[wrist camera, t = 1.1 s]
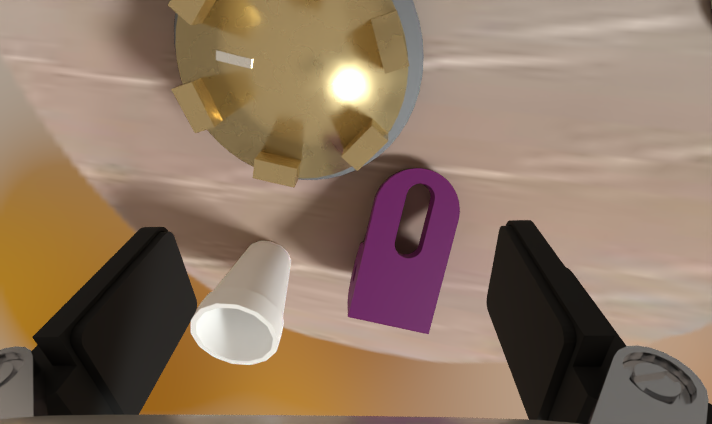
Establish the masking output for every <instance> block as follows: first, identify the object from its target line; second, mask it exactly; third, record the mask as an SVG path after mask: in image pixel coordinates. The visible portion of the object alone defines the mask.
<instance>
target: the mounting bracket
mask: <svg viewBox="0 0 712 424" xmlns="http://www.w3.org/2000/svg"><path fill="white" fill-rule="evenodd" d="M419 183H421V184H423V185H425V186H426V187H427V188H428V189H429V191H430V195H431V198H430V203H429V207H428V211H427V215H426V218H425V222H424V226H423V230H422V234H421V238H420V242H419V246H418V248H417V249H416V250H415V251H414V252H412V253H410V254H401V253H399V252H397V251H396V249H395V239H396V235H397V231H398V227H399V223H400V219H401V215H402V211H403V207H404V203H405V199H406V195H407V192H408V190H409V189H410V188H411V187H412V186H413V185H415V184H419ZM459 213H460V207H459V201H458V197H457V194H456V192H455V190H454V188H453V187H452V185H451V184H450V183H449V182H448V181H447V180H446V179H445V178H444V177H443V176H441V175H440V174H438V173H436V172H434V171H431V170H428V169H421V168H415V169H406V170H402V171H399V172H397V173H395V174H393V175H392V176H390V177H389V178H388V179H387V180H386V181H385V182H384V183H383V184H382V185H381V186H380V188H379V190H378V191H377V194H376V196H375V199H374V203H373V207H372V211H371V216H370V220H369V224H368V228H367V232H366V236H365V241H364V243H363V242H361V244H360V246H359V249H358V252H357V256H356V259H355V263H354V267H353V272H352V276H351V281H350V287H349V293H348V317H351V318H356V319H360V320H365V321H370V322H374V323H379V324H384V325H388V326H393V327H398V328H402V329H407V330H411V331H416V332H421V333H425V334H429V330H430V327H431V323H432V319H433V315H434V311H435V308H436V304H437V300H438V296H439V292H440V288H441V285H442V281H443V277H444V273H445V269H446V266H447V262H448V258H449V254H450V250H451V247H452V243H453V239H454V235H455V231H456V228H457V224H458V220H459Z"/></svg>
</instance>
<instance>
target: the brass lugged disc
mask: <svg viewBox="0 0 712 424" xmlns="http://www.w3.org/2000/svg"><path fill="white" fill-rule="evenodd" d="M168 6H169V7H170V8H171V9H172V10H174V11H175V12H176V13H177V14H178V18H177V24H176V41H175V46H176V57H177V64H178V69H179V73H180V78H181V81H182V85H179V86H177V87H175V88H173V89H171V90H172V92H173V94H174V95H175V97H176V99H177V101H178V103H179V105H180V106H181V108H182V110H183V112H184V114H185V116H186V117H187V119H188V121H189V123H190V125H191V127H192V129H193V130H194V132H195V133H197V132H201V131H204V130H208V131H209V132H210V134H211V135H212V136H213V137H214V138H215V139H216V140H217V141H218V142H219V143H220V144H221V145H222V146H223V147H225V148H226V149H227V150H228V151H229V152H230V153H232V154H233V155H235V156H236V157H238V158H239V159H240V160H242V161H244V162H246V163H247V164H249V165H251V166H253V167H254V171H253V178H255V179H259V180H264V181H268V182H272V183H277V184H281V185H285V186H290V187H295V185H296V183H297V181H298V179H299V178H303V179H306V178H318V177H323V176H329V175H332V174H335V173H338V172H341V171H344V170H346V169H348V168H350V167H353V168H354V169H356V170H357V171H358V170H359V169H360V168H361V167H362V166H363V165H364V164H365V163H366V162H367V161H368V160H370V159H371V158H372V157H373V156H374V155H375V154H376V153H377V152H378V151H379V150H380V149H381V148H382V147H383V146H384V145H385V144H386V143H387V142H388V133H389V131H390V130H391V129H392V127H393V125H394V123H395V121H396V119H397V117H398V115H399V112H400V109H401V107H402V104H403V101H404V96H405V92H406V87H407V78H408V67H409V61H408V52H407V46H406V39H405V34H404V31H403V27H402V24H401V21H400V18H399V15H398V13H397V10H396V8H395V6H394V4H393V2H392V0H170V2H169V4H168Z"/></svg>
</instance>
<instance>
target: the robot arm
mask: <svg viewBox="0 0 712 424" xmlns="http://www.w3.org/2000/svg"><path fill="white" fill-rule="evenodd" d="M711 7H712V0H711ZM487 308H488V312H489V315H490V317H491V320H492V323H493V325H494V328H495V331H496V333H497V336H498V339H499V341H500V344H501V346H502V349H503V352H504V354H505V357H506V360H507V362H508V365H509V368H510V370H511V373H512V376H513V378H514V381H515V383H516V386H517V389H518V392H519V394H520V397H521V400H522V402H523V405H524V408H525V410H526V413H527V416H528V418H529V420H524V419H523V420H522V419H491V418H489V419H488V418H455V417H384V416H382V417H381V416H380V417H379V416H291V415H290V416H289V415H287V416H286V415H283V416H282V415H139V413H140V411H141V409H142V408H143V406H144V404H145V402H146V400H147V399H148V397H149V395H150V393H151V391H152V390H153V388H154V386H155V384H156V382H157V381H158V379H159V377H160V375H161V373H162V372H163V370H164V368H165V366H166V364H167V363H168V361H169V359H170V357H171V355H172V354H173V352H174V350H175V348H176V346H177V345H178V342H179V341H180V339H181V337H182V336H183V334H184V332H185V330H186V328H187V327H188V325H189V323H190V321H191V319H192V318H193V316H194V314H195V312H196V309H197V300H196V297H195V294H194V291H193V289H192V286H191V283H190V280H189V277H188V274H187V271H186V269H185V266H184V263H183V260H182V257H181V254H180V252H179V249H178V246H177V243H176V240H175V237H174V235H173V234H172V233H171V232H168V230H167V229H166V228H164V227H144V228H141V229H140V230H138V231H137V232H136V233H135V235H134V236H133V237H132V238H131V239H130V240H129V241H128V242H127V243H126V244H125V245H124V246H123V247H122V248H121V249H120V250H119V251H118V252H117V253H116V254H115V255H114V256H113V257H112V258H111V259H110V260H109V261H108V262H107V263H106V264H105V265H104V266H103V267H102V268H101V269H100V270H99V271H98V272H97V273H96V274H95V275H94V276H93V277H92V278H91V279H90V280H89V281H88V282H87V283H86V284H85V285H84V286H83V287H82V288H81V289H80V290H79V291H78V292H77V293H76V294H75V295H74V296H73V297H72V298H71V299H70V300H69V301H68V302H67V303H66V304H65V305H64V306H63V307H62V308H61V309H60V310H59V311H58V312H57V313H56V314H55V315H54V316H53V317H52V318H51V319H50V320H49V321H48V322H47V323H46V324H45V325H44V326H43V327H42V328H41V329H40V330H39V331H38V332H37V333H36V334H35V335H34V336H33V339H34V340H35V342H36V343H37V344H38V345H37V346H36V347H35V348H34V349H33V350H32V352H31V350H29V349H27V348H25V347H10V348H4V349H2V350H0V424H712V405H711V404H710V403H708V395H707V390H706V388H705V387H704V385H703V383H702V382H701V380H700V379H699V378H698V377H697V376H696V375H695V373H694V372H693V371H692V370H691V369H690V368H688V367H687V366H685V365H684V364H683V363H681V362H680V361H679V360H677V359H675V358H673V357H671V356H669V355H668V354H666V353H664V352H661V351H658V350H655V349H652V348H649V347H642V346H626V345H625V343H624V342H623V341H622V339H621V338H620V337H619V335H618V334H617V333H616V331H615V330H614V328H613V327H612V326H611V324H610V323H609V322H608V320H607V319H606V318H605V316H604V315H603V313H602V312H601V311H600V309H599V308H598V307H597V305H596V304H595V303H594V301H593V300H592V299H591V297H590V296H589V294H588V293H587V292H586V290H585V289H584V288H583V286H582V285H581V284H580V282H579V281H578V280H577V278H576V277H575V275H574V274H573V273H572V272H571V271H570V270H569V269H568V268H566V267H565V266H564V264H563V263H562V262H561V260H560V259H559V258H558V256H557V255H556V253H555V252H554V251H553V249H552V248H551V247H550V245H549V244H548V242H547V241H546V240H545V238H544V237H543V236H542V234H541V233H540V231H539V230H538V229H537V227H536V226H535V224H534V223H533V222H532V221H530V220H517V221H508V222H507V224H506V226H501V227H500V230H499V234H498V240H497V245H496V251H495V256H494V262H493V267H492V273H491V278H490V283H489V289H488V294H487Z"/></svg>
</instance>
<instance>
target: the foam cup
mask: <svg viewBox="0 0 712 424" xmlns="http://www.w3.org/2000/svg"><path fill="white" fill-rule="evenodd" d="M290 267H291V259H290V256H289V253H288V252H287V251H286V250H285V249H284V248H283V247H282V246H281V245H279V244H276V243H274V242H272V241H258V242H255V243H253V244H251V245H250V246H249V247H248V249H247V250H246V251H245V252H244V253H243V255H242V256H241V257H240V258H239V260H238V261H237V262H236V263H235V264H234V266H233V267H232V268H231V269H230V271H229V272H228V273H227V274H226V276H225V277H224V278H223V279H222V280H221V282H220V283H219V284H218V285H217V287H216V288H215V289H214V290H213V292H210V293H209V294H208V295H207V296H206V297H205V299H204V300H203V301H202V302H201V304H200V305H199V307H198V309H197V310H196V312H195V314H194V316H193V318H192V319H191V334H192V336H193V337H194V339H195V341H196V342H197V344H198V345H199V347H201V348H202V349H203V350H205V351H206V352H208V353H209V354H210V355H212V356H213V357H215V358H218V359H220V360H223V361H226V362H229V363H232V364H245V365H252V364H255V363H259V362H263V361H266V360H267V359H268V358H270V357H271V356H272V355H273V354H274V353H275V352H276V351H277V348H278V344H279V341H280V338H281V334H282V330H283V325H284V320H283V314H284V307H285V300H286V294H287V287H288V280H289V273H290Z"/></svg>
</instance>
